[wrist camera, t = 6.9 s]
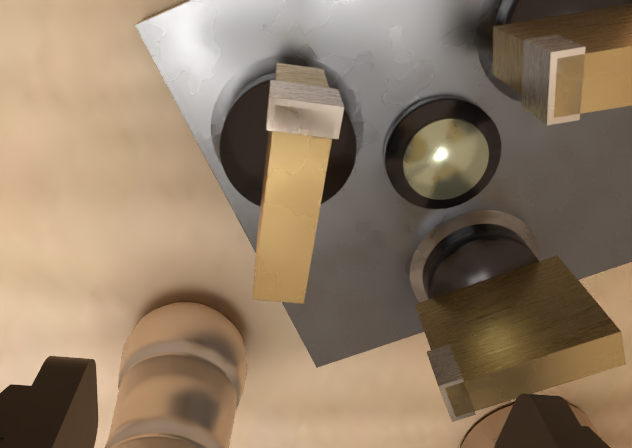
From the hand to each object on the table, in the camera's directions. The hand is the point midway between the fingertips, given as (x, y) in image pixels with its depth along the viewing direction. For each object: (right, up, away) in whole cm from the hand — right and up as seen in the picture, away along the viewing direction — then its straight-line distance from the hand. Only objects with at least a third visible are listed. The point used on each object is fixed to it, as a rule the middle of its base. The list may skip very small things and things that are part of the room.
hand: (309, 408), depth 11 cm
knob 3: (+8, +1, +18) cm, 20 cm away
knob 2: (+10, +12, +12) cm, 20 cm away
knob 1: (-1, +7, +14) cm, 16 cm away
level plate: (+6, +8, +16) cm, 19 cm away
